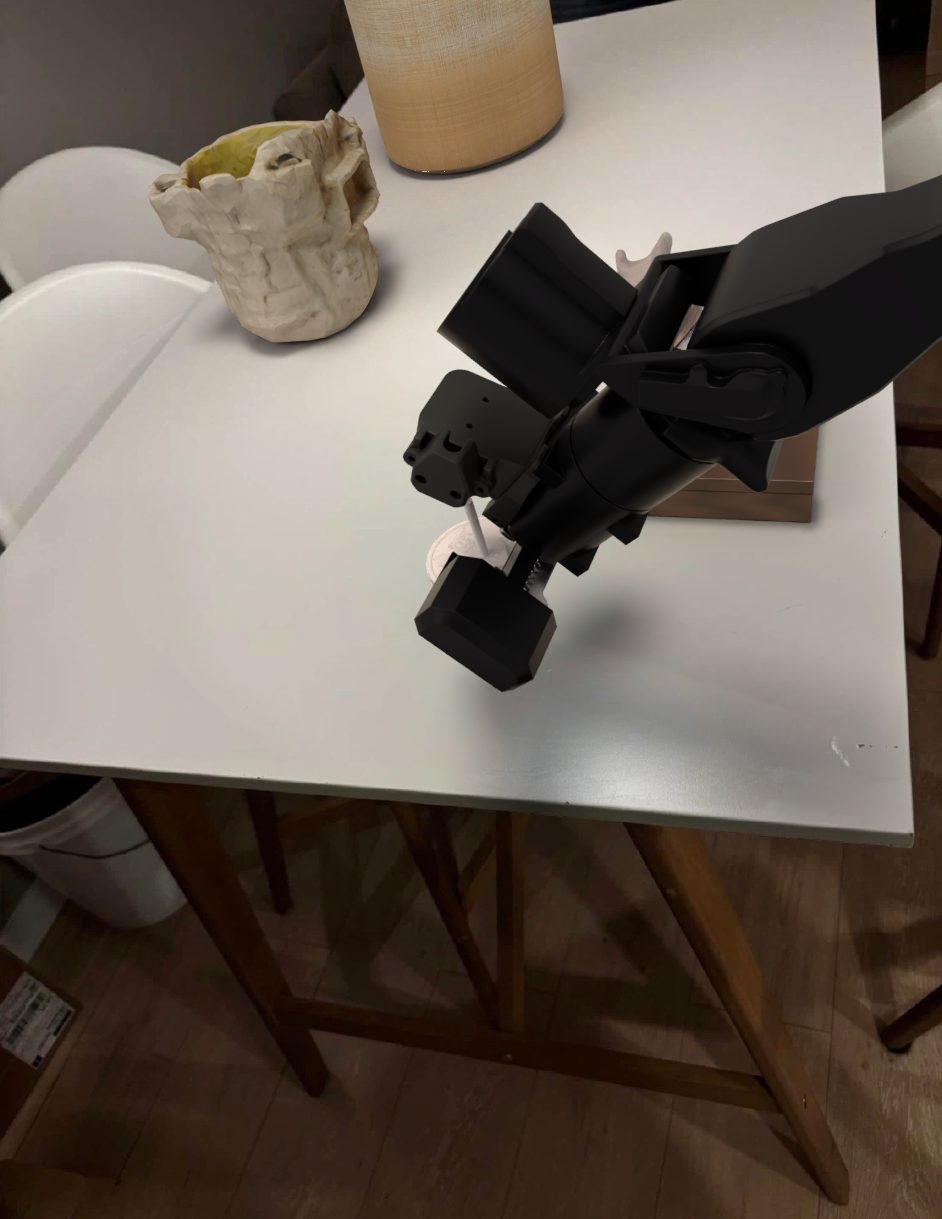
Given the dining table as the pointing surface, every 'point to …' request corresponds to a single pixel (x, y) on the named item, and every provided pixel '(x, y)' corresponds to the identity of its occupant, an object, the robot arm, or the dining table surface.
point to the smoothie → (469, 543)
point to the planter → (458, 78)
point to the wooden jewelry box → (735, 500)
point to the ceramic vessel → (281, 223)
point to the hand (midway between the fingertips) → (466, 578)
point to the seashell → (638, 269)
